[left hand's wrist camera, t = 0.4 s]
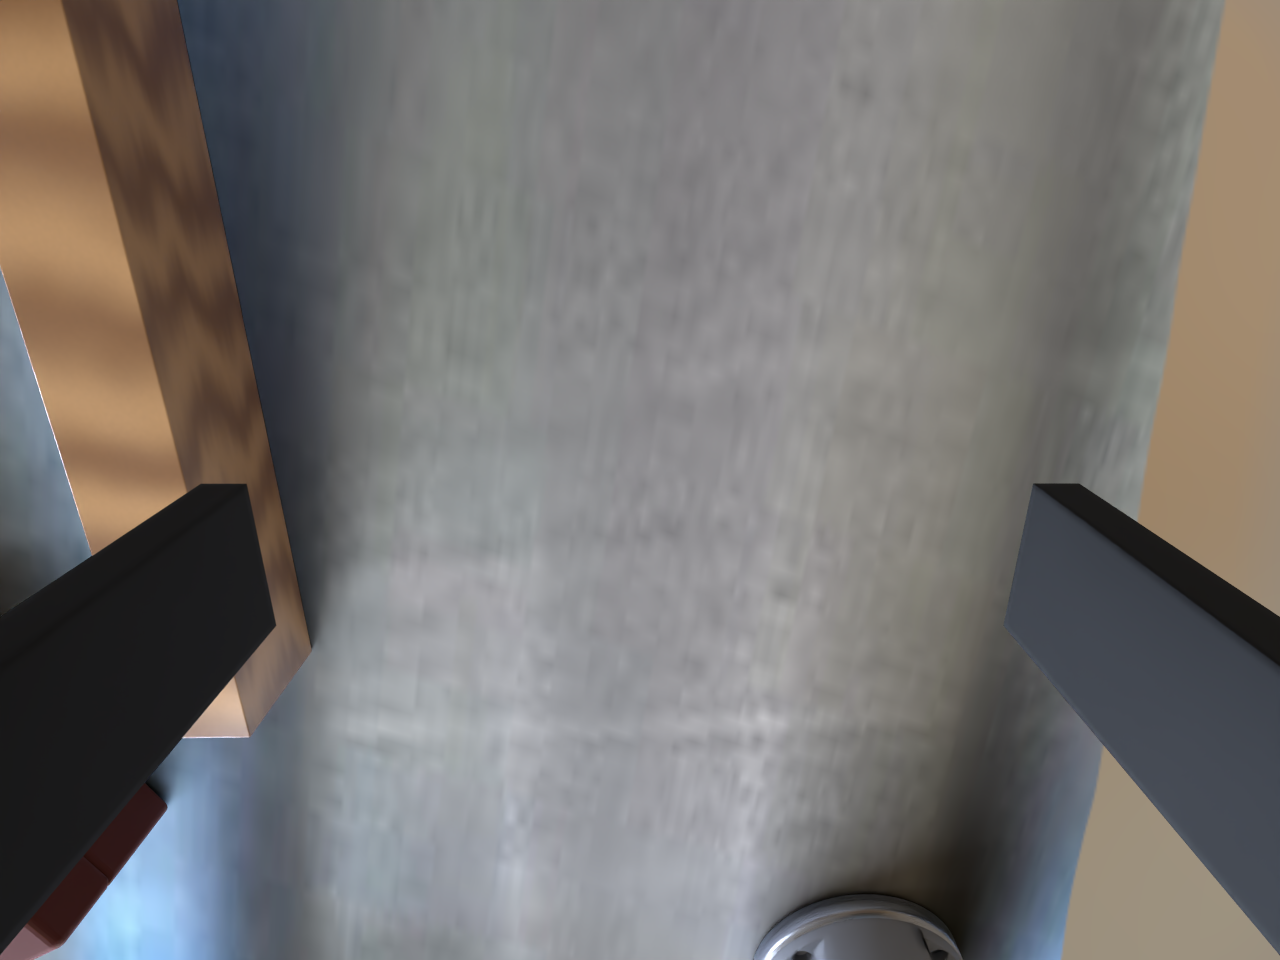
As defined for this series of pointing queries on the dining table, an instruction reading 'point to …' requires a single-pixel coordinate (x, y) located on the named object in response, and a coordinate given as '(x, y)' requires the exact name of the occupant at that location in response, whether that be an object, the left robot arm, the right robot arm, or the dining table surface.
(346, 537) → the dining table surface
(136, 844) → the box
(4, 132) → the beam
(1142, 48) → the dining table surface
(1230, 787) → the left robot arm
